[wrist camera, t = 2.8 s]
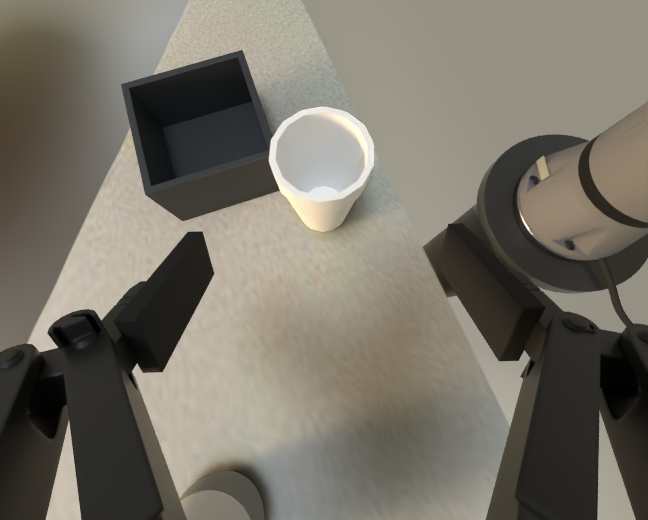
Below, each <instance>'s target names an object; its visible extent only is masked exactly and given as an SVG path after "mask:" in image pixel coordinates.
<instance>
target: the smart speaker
mask: <svg viewBox="0 0 648 520" xmlns="http://www.w3.org/2000/svg"><path fill="white" fill-rule="evenodd" d="M180 502H181V505H182V507H183V510H184V513H185V516H186V518H187V520H264V508H263V503H262V500H261V497H260V494H259V492H258V490H257V489H256V487H255V486H254V484H253V483H252V482H251V481H250V480H249V479H248V478H247V477H245V476H244V475H242V474H240V473H237V472H234V471H218V472H214V473H211V474H209V475H207V476H205V477H203V478H201V479H200V480H198V481H197V482H196V483H194V484H193V485H192V486H191V487H190V488H189V489H188V490H187V491H186V492H185V493H184V494H183V495H182V496H181V497H180Z"/></svg>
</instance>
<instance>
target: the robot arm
mask: <svg viewBox="0 0 648 520" xmlns="http://www.w3.org/2000/svg"><path fill="white" fill-rule="evenodd" d="M513 210H514V214H515V217H516V220H517V222H518V225H519V226H520V228H521V230H522V231H523V233H524V234H525V236H526V237H527V238H528V239H529V240H530V241H531V242H532V243H533V244H534V245H535V246H536V247H538V248H539V249H540V250H542V251H543V252H545V253H547V254H549V255H551V256H553V257H555V258H558V259H561V260H565V261H570V262H589V261H594V260H598V261H599V264H600V266H601V269H602V272H603V275H604V277H605V280H606V283H607V286H608V289H609V293H610V296H611V300H612V304H613V306H614V309H615V311H616V313H617V315H618V316H619V318H620V319H621V320H622V322H623V323H624V324H625V325H626V326H627V327H626V328H625V330H624V331H623V332H622V333H617V332H612V331H607V330H601V329H599V328H598V327H597V326H596V325H595V324H594V323H593V322H592V321H590V320H589V319H587V318H585V317H583V316H581V315H578V314H575V313H571V312H564V311H562V310H561V309H560V308H559V307H558V306H557V305H556V304H555V303H554V302H553V301H552V300H551V299H550V298H549V297H548V296H547V295H546V294H545V293H544V292H543V291H540V289H539V288H538V287H537V286H536V285H534V283H533V282H532V281H531V280H530V279H529V278H528V277H527V276H526V275H524V274H522V273H520V272H519V271H517V270H515V269H508V268H507V267H506V266H505V265H504V264H503V263H502V262H501V261H500V260H499V259H498V258H497V257H496V256H495V255H494V254H493V253H492V252H491V251H490V250H489V249H488V248H487V247H486V246H485V245H484V244H483V243H482V242H481V241H480V240H479V239H478V238H477V237H476V236H475V235H474V234H473V233H472V232H471V231H470V230H469V229H468V228H467V227H466V226H465V225H464V224H463V223H460V224H448V228H447V232H446V237H445V241H444V245H443V250H442V254H441V259H440V263H439V268H440V270H441V271H442V273H443V274H444V276H445V277H446V279H447V281H448V282H449V284H450V285H451V287H452V288H453V290H454V292H455V293H456V295H457V296H458V298H459V299H460V301H461V303H462V304H463V306H464V307H465V309H466V310H467V312H468V313H469V315H470V316H471V318H472V320H473V321H474V323H475V324H476V326H477V328H478V329H479V331H480V332H481V334H482V335H483V337H484V339H485V340H486V342H487V343H488V345H489V346H490V348H491V349H492V351H493V353H494V354H495V356H496V357H497V359H498V360H499V361H518V360H519V359H520V357H521V355H522V353H523V351H524V350H525V351H526V353H527V354H528V355H529V357H530V360H529V362H528V364H527V366H526V367H525V369H524V371H523V373H522V375H521V377H522V378H523V382H522V386H521V390H520V393H519V397H518V401H517V404H516V408H515V412H514V416H513V420H512V423H511V427H510V431H509V434H508V438H507V442H506V446H505V449H504V453H503V457H502V461H501V464H500V468H499V472H498V476H497V479H496V483H495V487H494V491H493V494H492V498H491V502H490V506H489V509H488V513H487V517H486V520H597V505H598V453H599V410H600V412H601V416H602V419H603V421H604V425H605V428H606V431H607V433H608V437H609V440H610V443H611V446H612V449H613V452H614V455H615V458H616V461H617V464H618V467H619V470H620V473H621V475H622V479H623V482H624V485H625V488H626V490H627V494H628V497H629V500H630V503H631V506H632V509H633V512H634V515H635V518H636V520H648V325H644V324H633V323H632V322H631V321H630V319H629V318H628V317H627V315H626V314H625V312H624V310H623V308H622V306H621V303H620V299H619V296H618V292H617V288H616V285H615V282H614V279H613V277H612V274H611V271H610V268H609V266H608V263H607V260H606V257H609V256H611V255H613V254H616V253H618V252H620V251H622V250H623V249H625V248H626V247H628V246H629V245H631V244H632V243H634V242H635V241H637V240H638V239H640V238H641V237H643V236H644V235H646V234H647V233H648V102H647V103H645V104H644V105H642V106H641V107H639V108H638V109H636V110H635V111H633V112H632V113H630V114H629V115H628V116H626V117H625V118H623V119H622V120H620V121H619V122H617V123H616V124H614V125H613V126H611V127H610V128H608V129H607V130H605V131H604V132H603V133H601V134H600V135H598V136H597V137H595V138H594V139H593V140H591V141H588V142H585V143H582V144H579V145H576V146H573V147H570V148H567V149H564V150H561V151H558V152H555V153H553V154H550V155H548V156H546V157H544V156H542V157H541V158H540V159H538V160H537V161H536V163H534V164H533V165H532V166H530V167H529V168H528V169H527V170H526V171H525V172H524V173H523V174H522V175H521V176H520V178H519V179H518V181H517V183H516V185H515V189H514V193H513ZM213 275H214V271H213V268H212V264H211V261H210V257H209V253H208V250H207V246H206V243H205V239H204V236H203V232H188V233H187V234H186V235H185V236H184V237H183V238H182V240H181V241H180V242H179V243H178V244H177V246H176V247H175V248H174V249H173V250H172V252H171V253H170V254H169V255H168V256H167V258H166V259H165V260H164V261H163V262H162V263H161V265H160V266H159V267H158V268H157V269H156V271H155V272H154V273H153V274H152V275H151V277H150V278H149V279H148V280H147V281H142V282H139V283H138V284H136V285H135V286H133V287H132V288H130V289H129V290H128V291H127V293H126V294H125V295H124V296H123V298H122V299H120V300H119V302H118V303H117V305H115V306H114V307H113V308H112V309H111V311H110V312H109V313H108V314H107V315H106V316H105V317H104V318H103V320H102V321H101V320H100V318H99V317H98V315H97V313H96V312H95V311H94V310H89V309H87V310H79V311H76V312H72V313H70V314H68V315H65V316H63V317H61V318H60V319H59V320H57V321H56V322H54V323H53V324H52V325H51V327H50V328H49V330H48V334H49V336H50V337H51V338H52V340H53V341H54V342H55V344H56V345H57V346H58V348H56V349H52V350H48V351H44V352H39V351H38V350H37V349H36V347H35V346H33V345H32V344H22V345H17V346H14V347H11V348H9V349H6V350H4V351H2V352H0V520H45V519H46V515H47V511H48V507H49V502H50V498H51V494H52V489H53V485H54V481H55V477H56V472H57V468H58V464H59V459H60V455H61V451H62V447H63V442H64V438H65V434H66V429H67V425H68V421H70V429H71V437H72V445H73V454H74V462H75V470H76V478H77V486H78V494H79V502H80V510H81V519H82V520H187V518H186V516H185V513H184V510H183V507H182V505H181V502H180V499H179V496H178V494H177V491H176V488H175V485H174V483H173V480H172V477H171V475H170V472H169V469H168V466H167V464H166V461H165V458H164V455H163V453H162V450H161V447H160V445H159V442H158V439H157V436H156V434H155V431H154V428H153V425H152V423H151V420H150V417H149V414H148V412H147V409H146V406H145V404H144V401H143V398H142V395H141V393H140V390H139V387H138V384H137V382H136V379H135V376H134V375H133V373H132V370H133V369H134V367H135V365H136V364H137V363H138V365H139V367H140V369H141V370H142V372H143V373H147V372H163V370H164V368H165V366H166V364H167V363H168V361H169V359H170V357H171V355H172V353H173V351H174V349H175V347H176V345H177V344H178V342H179V340H180V338H181V336H182V334H183V332H184V330H185V328H186V326H187V325H188V323H189V321H190V319H191V317H192V315H193V313H194V311H195V309H196V307H197V306H198V304H199V302H200V300H201V298H202V296H203V294H204V292H205V290H206V289H207V287H208V285H209V283H210V281H211V279H212V277H213Z"/></svg>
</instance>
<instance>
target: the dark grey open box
mask: <svg viewBox="0 0 648 520" xmlns="http://www.w3.org/2000/svg"><path fill="white" fill-rule="evenodd" d="M121 86H122V91H123V96H124V100H125V104H126V109H127V114H128V118H129V122H130V127H131V132H132V136H133V141H134V145H135V150H136V155H137V159H138V164H139V168H140V173H141V177H142V182H143V186H144V191H145V195H146V196H148V197H149V198H151V199H152V200H153V201H155V202H156V203H158V204H159V205H161V206H162V207H163V208H165V209H166V210H168V211H169V212H170V213H172V214H173V215H175V216H176V217H177V218H179V219H180V220H182V221H184V220H187V219H190V218H194V217H197V216H200V215H203V214H206V213H209V212H213V211H216V210H219V209H222V208H225V207H228V206H232V205H235V204H238V203H241V202H244V201H247V200H251V199H254V198H257V197H260V196H263V195H266V194H270V193H273V192H276V191H279V190H280V189H279V187H278V184H277V182H276V179H275V177H274V175H273V172H272V169H271V166H270V163H269V153H270V144H271V139H272V135H271V132H270V129H269V126H268V124H267V121H266V118H265V115H264V112H263V109H262V106H261V103H260V100H259V97H258V94H257V91H256V88H255V85H254V82H253V80H252V77H251V74H250V71H249V68H248V65H247V62H246V59H245V56H244V53H243V51H242V50H241V51H237V52H234V53H230V54H226V55H223V56H219V57H216V58H212V59H209V60H205V61H202V62H198V63H195V64H191V65H188V66H184V67H181V68H177V69H174V70H170V71H166V72H163V73H159V74H156V75H152V76H149V77H145V78H142V79H138V80H135V81H132V82H128V83H124V84H121Z"/></svg>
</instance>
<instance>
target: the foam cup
mask: <svg viewBox="0 0 648 520" xmlns="http://www.w3.org/2000/svg"><path fill="white" fill-rule="evenodd" d="M269 163H270V166H271V169H272V172H273V175H274V177H275V179H276V182H277V184H278V187H279V189H280V192H281V193H282V194H283V195H284V196H285V197H286V198H287V199H288V200H289V202H290V203H291V205H292V206H293V208H294V209H295V211H296V212H297V214H298V215H299V217H300V218H301V220H302V221H303V222H304V223H305V224H306V225H307V226H308V227H309V228H311V229H312V230H316V231H320V232H326V231H332V230H334V229H335V228H337V227H338V226H340V225H341V224H342V223H343V221H344V219H345V217H346V216H347V214H348V212H349V211H350V209H351V207H352V205H353V204H354V202H355V200H356V199H357V198H359V197H360V195H361V194H362V192H363V190H364V188H365V187H366V185H367V183H368V181H369V180H370V177H371V173H372V170H373V167H374V143H373V141H372V139H371V137H370V135H369V133H368V131H367V129H366V127H365V125H364V124H362V123H361V122H360V121H358V120H357V119H356V118H354V117H353V116H352V115H350V114H349V113H348V112H346V111H341V110H337V109H333V108H329V107H325V106H324V107H318V108H311V109H305V110H301V111H299V112H298V113H296V114H295V115H293V116H291V117H290V118H288V119H286V120H285V121H283V122H282V124H281V125H280V127H279V128H278V130H277V131H276V133H275V134H274V136H273V137H272V139H271V144H270V153H269Z"/></svg>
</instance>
